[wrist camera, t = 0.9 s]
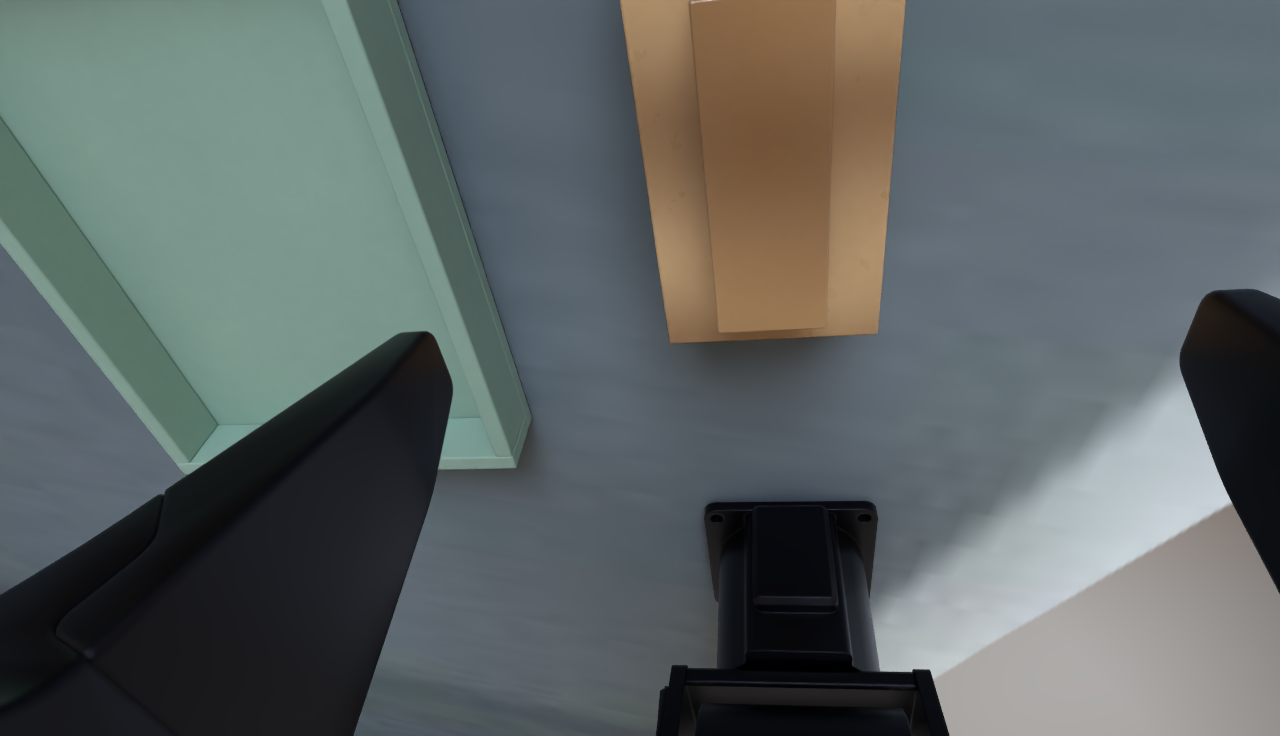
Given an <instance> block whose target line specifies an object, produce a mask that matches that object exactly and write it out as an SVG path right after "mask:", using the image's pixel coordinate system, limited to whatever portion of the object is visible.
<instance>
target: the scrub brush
mask: <svg viewBox="0 0 1280 736" xmlns="http://www.w3.org/2000/svg"><path fill="white" fill-rule="evenodd" d="M620 5H621V12H622V19H623V26H624V33H625V40H626V47H627V54H628V60H629V67H630V74H631V81H632V88H633V95H634V102H635V109H636V116H637V122H638V129H639V136H640V143H641V150H642V157H643V164H644V171H645V177H646V184H647V191H648V198H649V205H650V212H651V219H652V226H653V233H654V239H655V246H656V253H657V260H658V267H659V274H660V281H661V288H662V295H663V301H664V308H665V315H666V322H667V329H668V336H669V342H670V343H671V344H674V343H696V342H718V341H740V340H761V339H783V338H805V337H827V336H849V335H871V334H877V333H878V325H879V314H880V302H881V290H882V278H883V266H884V254H885V242H886V230H887V219H888V207H889V195H890V183H891V171H892V159H893V147H894V135H895V123H896V112H897V100H898V88H899V76H900V64H901V52H902V40H903V28H904V16H905V5H906V0H620Z"/></svg>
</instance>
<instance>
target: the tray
mask: <svg viewBox="0 0 1280 736" xmlns="http://www.w3.org/2000/svg"><path fill="white" fill-rule="evenodd" d="M0 243H1V245H2V246H3V247H4V248H5V250H6V251H7V252H8V253H9V255H10V256H11V257H12V258H13V260H14V261H15V262H16V263H17V265H18V266H19V267H20V268H21V270H22V271H23V272H24V273H25V275H26V276H27V277H28V278H29V280H30V281H31V282H32V283H33V285H34V286H35V287H36V289H37V290H38V291H39V292H40V294H41V295H42V296H43V297H44V299H45V300H46V301H47V302H48V304H49V305H50V306H51V307H52V309H53V310H54V311H55V312H56V314H57V315H58V316H59V317H60V319H61V320H62V321H63V322H64V324H65V325H66V326H67V327H68V329H69V330H70V331H71V332H72V334H73V335H74V336H75V337H76V339H77V340H78V341H79V342H80V344H81V345H82V346H83V347H84V349H85V350H86V351H87V353H88V354H89V355H90V356H91V358H92V359H93V360H94V361H95V363H96V364H97V365H98V366H99V368H100V369H101V370H102V371H103V373H104V374H105V375H106V376H107V378H108V379H109V380H110V381H111V383H112V384H113V385H114V386H115V388H116V389H117V390H118V391H119V393H120V394H121V395H122V396H123V398H124V399H125V400H126V401H127V403H128V404H129V405H130V406H131V408H132V409H133V410H134V411H135V413H136V414H137V415H138V417H139V418H140V419H141V420H142V422H143V423H144V424H145V425H146V427H147V428H148V429H149V430H150V432H151V433H152V434H153V435H154V437H155V438H156V439H157V440H158V442H159V443H160V444H161V445H162V447H163V448H164V449H165V450H166V452H167V453H168V454H169V455H170V457H171V458H172V459H173V460H174V462H176V463H177V465H178V467H179V468H180V469H181V470H182V472H183V473H184V474H190V473H192V472H193V471H194V470H196V469H197V468H199V467H200V466H202V465H203V464H205V463H206V462H208V461H209V460H211V459H212V458H214V457H215V456H217V455H218V454H220V453H221V452H223V451H224V450H226V449H227V448H229V447H230V446H232V445H233V444H234V443H236V442H237V441H239V440H240V439H242V438H243V437H245V436H246V435H248V434H249V433H251V432H252V431H254V430H255V429H257V428H258V427H260V426H261V425H263V424H264V423H266V422H267V421H269V420H270V419H272V418H273V417H275V416H276V415H277V414H279V413H280V412H282V411H283V410H285V409H286V408H288V407H289V406H291V405H292V404H294V403H295V402H297V401H298V400H300V399H301V398H303V397H304V396H306V395H307V394H309V393H310V392H312V391H313V390H315V389H316V388H318V387H319V386H320V385H322V384H323V383H325V382H326V381H328V380H329V379H331V378H332V377H334V376H335V375H337V374H338V373H340V372H341V371H343V370H344V369H346V368H347V367H349V366H350V365H352V364H353V363H355V362H356V361H358V360H359V359H361V358H362V357H363V356H365V355H366V354H368V353H369V352H371V351H372V350H374V349H375V348H377V347H378V346H380V345H381V344H383V343H384V342H386V341H387V340H389V339H390V338H392V337H393V336H395V335H396V334H398V333H401V332H414V331H428V332H430V333H431V334H433V336H434V337H435V339H436V340H437V343H438V345H439V348H440V350H441V353H442V355H443V358H444V361H445V363H446V366H447V368H448V371H449V373H450V376H451V379H452V383H453V398H452V403H451V408H450V413H449V418H448V423H447V428H446V433H445V438H444V443H443V448H442V452H441V457H440V462H439V467H438V470H448V469H504V468H516V467H517V464H518V461H519V458H520V454H521V451H522V448H523V445H524V441H525V438H526V435H527V431H528V428H529V427H528V426H529V425H530V422H531V419H532V416H531V413H530V410H529V407H528V404H527V401H526V398H525V395H524V392H523V389H522V386H521V382H520V379H519V376H518V373H517V370H516V367H515V364H514V361H513V358H512V355H511V352H510V349H509V345H508V342H507V339H506V336H505V333H504V330H503V327H502V324H501V321H500V318H499V315H498V311H497V308H496V305H495V302H494V299H493V296H492V293H491V290H490V287H489V284H488V281H487V278H486V274H485V271H484V268H483V265H482V262H481V259H480V256H479V253H478V250H477V247H476V244H475V241H474V237H473V234H472V231H471V228H470V225H469V222H468V219H467V216H466V213H465V210H464V207H463V203H462V200H461V197H460V194H459V191H458V188H457V185H456V182H455V179H454V176H453V173H452V170H451V166H450V163H449V160H448V157H447V154H446V151H445V148H444V145H443V142H442V139H441V136H440V133H439V129H438V126H437V123H436V120H435V117H434V114H433V111H432V108H431V105H430V102H429V99H428V95H427V92H426V89H425V86H424V83H423V80H422V77H421V74H420V71H419V68H418V65H417V62H416V58H415V55H414V52H413V49H412V46H411V43H410V40H409V37H408V34H407V31H406V28H405V25H404V21H403V18H402V15H401V12H400V9H399V6H398V3H397V0H0Z"/></svg>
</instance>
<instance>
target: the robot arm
mask: <svg viewBox="0 0 1280 736" xmlns="http://www.w3.org/2000/svg"><path fill="white" fill-rule="evenodd" d="M1180 369H1181V373H1182V376H1183V379H1184V381H1185V384H1186V387H1187V389H1188V392H1189V395H1190V398H1191V400H1192V403H1193V406H1194V408H1195V411H1196V414H1197V417H1198V419H1199V422H1200V425H1201V427H1202V430H1203V433H1204V435H1205V438H1206V441H1207V444H1208V446H1209V449H1210V452H1211V454H1212V457H1213V460H1214V463H1215V465H1216V468H1217V470H1218V473H1219V475H1220V478H1221V480H1222V482H1223V485H1224V487H1225V489H1226V491H1227V493H1228V495H1229V497H1230V499H1231V501H1232V503H1233V505H1234V507H1235V509H1236V511H1237V513H1238V515H1239V517H1240V519H1241V520H1242V522H1243V525H1244V526H1245V528H1246V530H1247V532H1248V534H1249V536H1250V538H1251V540H1252V542H1253V544H1254V546H1255V547H1256V549H1257V551H1258V553H1259V555H1260V557H1261V559H1262V561H1263V563H1264V565H1265V567H1266V568H1267V570H1268V572H1269V574H1270V576H1271V578H1272V580H1273V582H1274V584H1275V586H1276V588H1277V590H1278V592H1279V594H1280V299H1278V298H1276V297H1274V296H1271V295H1269V294H1266V293H1264V292H1261V291H1259V290H1255V289H1234V290H1216V291H1213V292H1210V293H1208V294H1207V295H1206V296H1205V297H1204V298H1203V299H1202V301H1201V303H1200V304H1199V307H1198V309H1197V312H1196V314H1195V317H1194V319H1193V321H1192V324H1191V326H1190V329H1189V331H1188V334H1187V336H1186V338H1185V341H1184V343H1183V346H1182V348H1181V352H1180ZM452 398H453V383H452V379H451V376H450V373H449V371H448V368H447V366H446V363H445V361H444V358H443V355H442V353H441V350H440V348H439V345H438V343H437V340H436V339H435V337H434V336H433V334H431V333H430V332H428V331H414V332H401V333H398V334H396V335H395V336H393V337H392V338H390V339H389V340H387V341H386V342H384V343H383V344H381V345H380V346H378V347H377V348H375V349H374V350H372V351H371V352H369V353H368V354H366V355H365V356H363V357H362V358H361V359H359V360H358V361H356V362H355V363H353V364H352V365H350V366H349V367H347V368H346V369H344V370H343V371H341V372H340V373H338V374H337V375H335V376H334V377H332V378H331V379H329V380H328V381H326V382H325V383H323V384H322V385H320V386H319V387H318V388H316V389H315V390H313V391H312V392H310V393H309V394H307V395H306V396H304V397H303V398H301V399H300V400H298V401H297V402H295V403H294V404H292V405H291V406H289V407H288V408H286V409H285V410H283V411H282V412H280V413H279V414H277V415H276V416H275V417H273V418H272V419H270V420H269V421H267V422H266V423H264V424H263V425H261V426H260V427H258V428H257V429H255V430H254V431H252V432H251V433H249V434H248V435H246V436H245V437H243V438H242V439H240V440H239V441H237V442H236V443H234V444H233V445H232V446H230V447H229V448H227V449H226V450H224V451H223V452H221V453H220V454H218V455H217V456H215V457H214V458H212V459H211V460H209V461H208V462H206V463H205V464H203V465H202V466H200V467H199V468H197V469H196V470H194V471H193V472H192V473H190V474H189V475H187V476H186V477H184V478H183V479H181V480H180V481H178V482H177V483H175V484H174V485H172V486H171V487H169V488H168V489H166V491H165V494H164V495H163V494H159V495H157V496H156V497H154V498H153V499H151V500H150V501H148V502H147V503H145V504H144V505H142V506H141V507H139V508H138V509H136V510H135V511H134V512H132V513H131V514H129V515H127V516H126V517H124V518H123V519H121V520H120V521H118V522H117V523H115V524H114V525H112V526H111V527H109V528H108V529H106V530H105V531H103V532H101V533H100V534H98V535H97V536H95V537H94V538H92V539H91V540H89V541H88V542H86V543H85V544H83V545H81V546H80V547H78V548H77V549H75V550H73V551H72V552H70V553H68V554H67V555H65V556H64V557H62V558H60V559H59V560H57V561H55V562H54V563H52V564H51V565H49V566H47V567H46V568H44V569H42V570H41V571H39V572H38V573H36V574H34V575H33V576H31V577H29V578H28V579H26V580H24V581H23V582H21V583H19V584H18V585H16V586H14V587H13V588H11V589H9V590H8V591H6V592H4V593H3V594H1V595H0V736H353V735H354V732H355V729H356V726H357V723H358V720H359V717H360V714H361V711H362V708H363V705H364V702H365V699H366V696H367V692H368V689H369V686H370V683H371V680H372V677H373V674H374V671H375V668H376V665H377V662H378V659H379V656H380V653H381V650H382V647H383V644H384V641H385V638H386V635H387V632H388V629H389V626H390V623H391V620H392V617H393V614H394V611H395V608H396V605H397V602H398V599H399V596H400V593H401V590H402V586H403V583H404V580H405V577H406V574H407V571H408V568H409V565H410V562H411V559H412V556H413V553H414V550H415V547H416V544H417V541H418V538H419V535H420V532H421V529H422V526H423V523H424V520H425V517H426V514H427V511H428V507H429V504H430V501H431V497H432V494H433V490H434V486H435V481H436V477H437V472H438V467H439V462H440V457H441V452H442V448H443V443H444V438H445V433H446V428H447V423H448V418H449V413H450V408H451V403H452ZM704 520H705V528H706V535H707V543H708V550H709V558H710V565H711V573H712V581H713V588H714V596H715V600H716V601H717V602H718V603H719V606H718V647H717V669H715V668H688V666H687V665H672V668H671V675H670V681H669V686H665V688H664V689H662V690H660V698H659V710H658V722H657V731H656V736H949V732H948V729H947V726H946V722H945V719H944V716H943V712H942V709H941V706H940V702H939V699H938V695H937V692H936V688H935V685H934V682H933V678H932V675H931V672H930V670H923V669H913V670H912V672H880V668H879V661H878V655H877V648H876V641H875V635H874V628H873V621H872V615H871V608H870V601H869V598H870V588H871V579H872V569H873V560H874V550H875V541H876V531H877V522H878V516H877V510H876V506H875V505H874V504H873V503H871V502H867V501H821V502H716V503H711V504H709V505H707V506H706V507H705V515H704Z"/></svg>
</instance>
